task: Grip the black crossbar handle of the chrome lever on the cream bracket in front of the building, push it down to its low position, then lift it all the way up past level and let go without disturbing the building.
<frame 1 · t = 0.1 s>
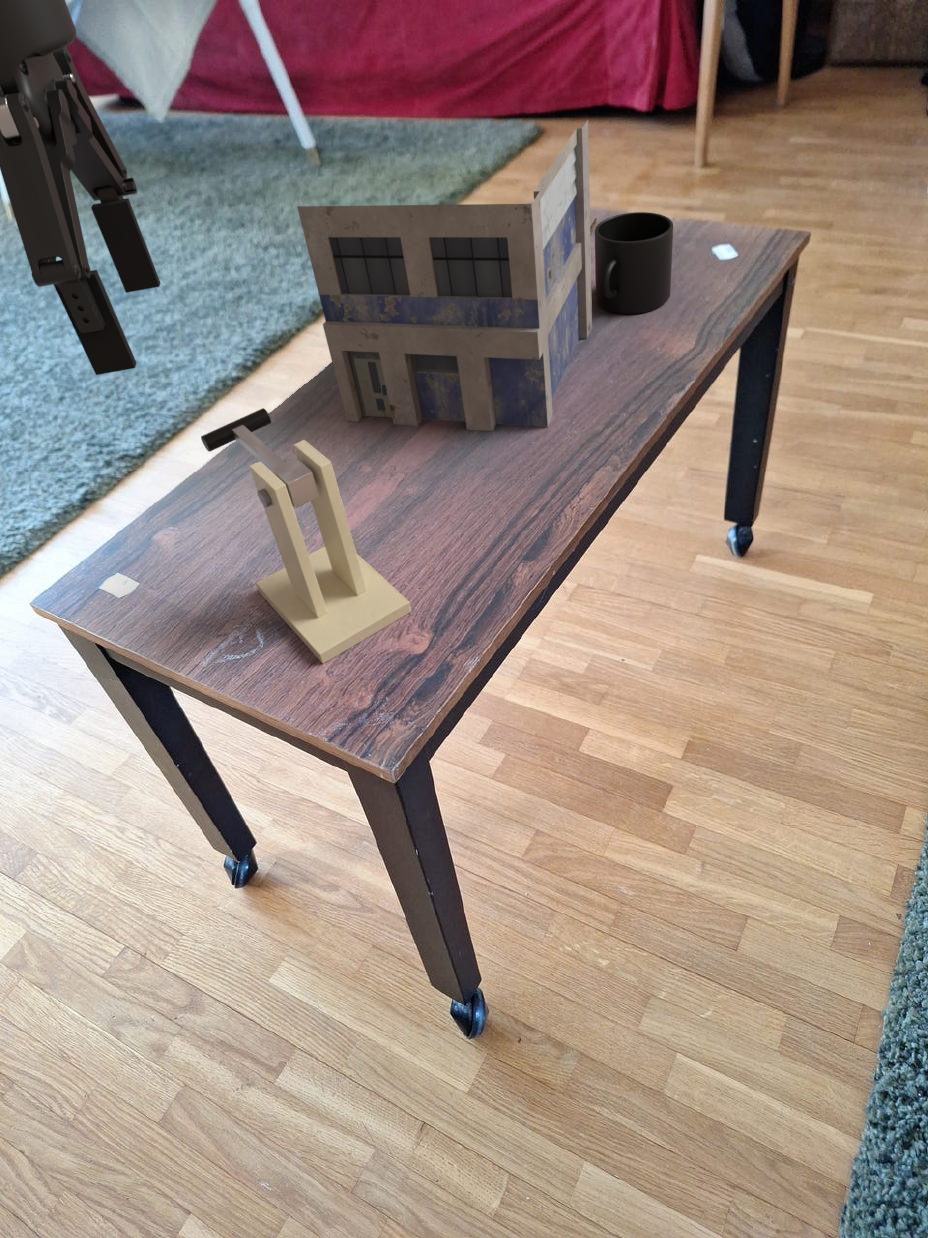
hand: (131, 325, 64), 25 cm above the table, tool pointing down, fingers open, 13 cm apart
bracket: (333, 601, 76), on the table
building: (474, 373, 102), on the table
lever: (266, 456, 70), point 13 cm above the table, hinge at 0.0°
mug: (627, 303, 110), on the table
eagle figurine: (559, 258, 123), on the table
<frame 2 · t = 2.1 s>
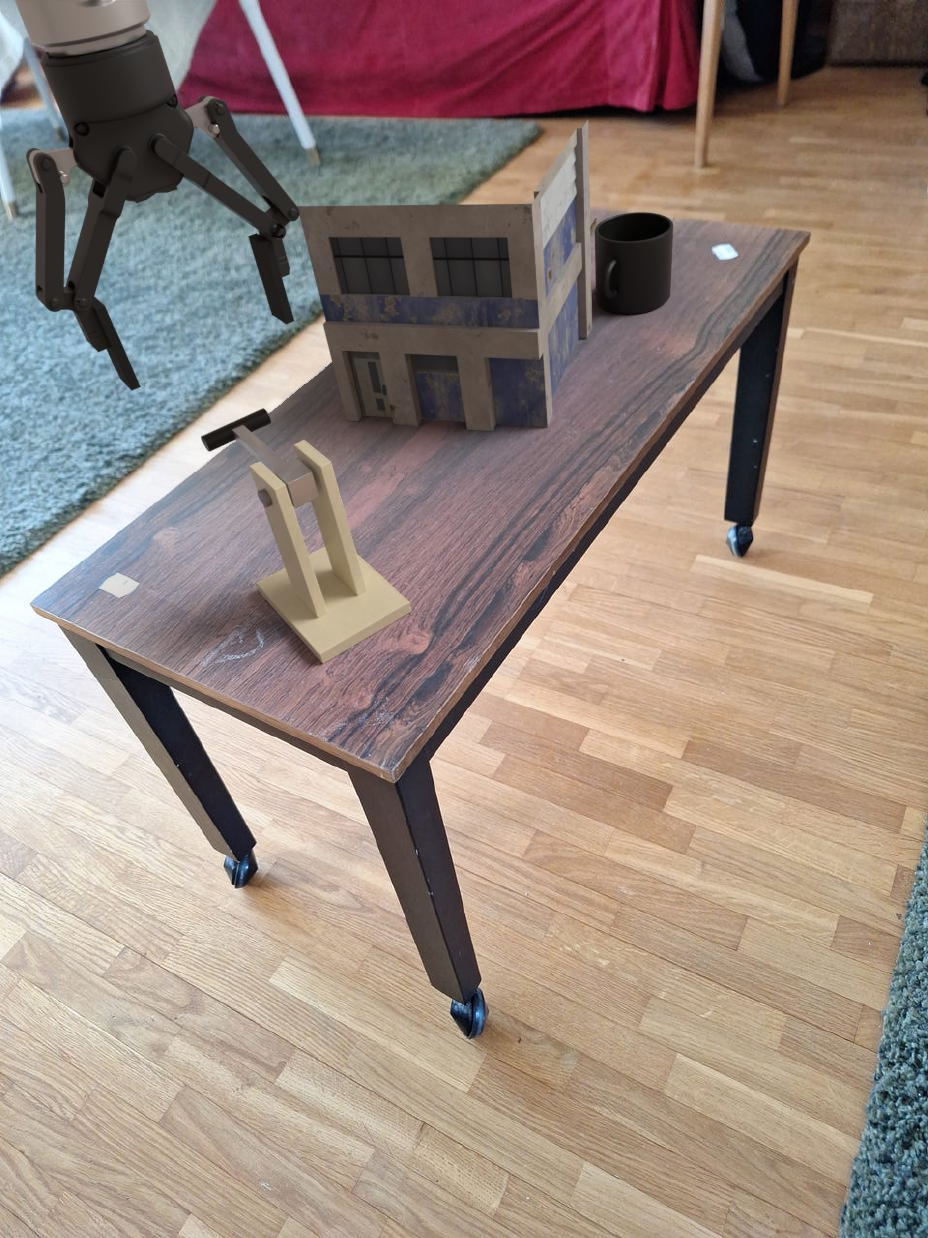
hand: (209, 349, 69), 20 cm above the table, tool pointing down, fingers open, 13 cm apart
nothing on the table moved.
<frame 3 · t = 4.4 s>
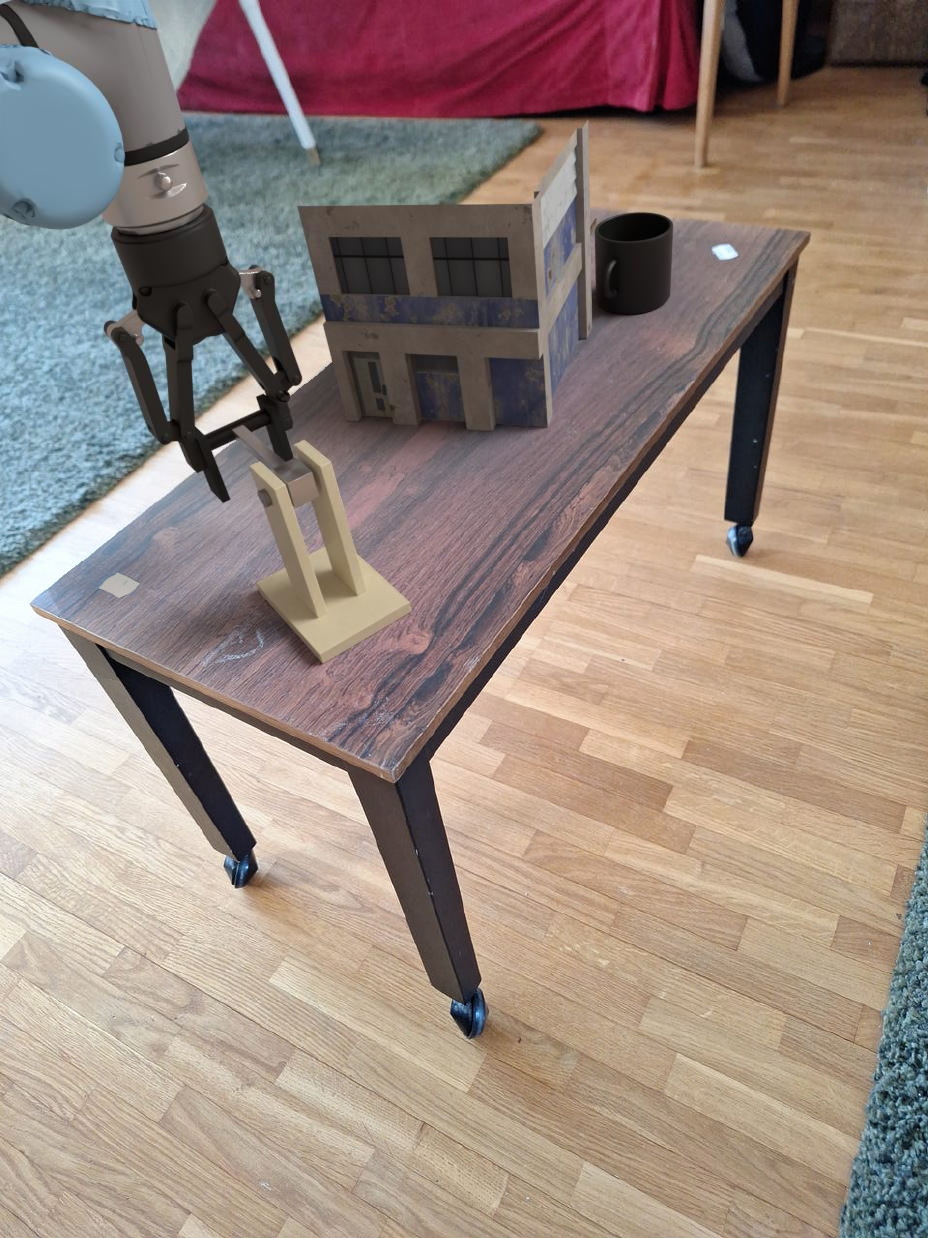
hand: (253, 478, 78), 8 cm above the table, tool pointing down, fingers closed on lever, 6 cm apart
lever: (266, 456, 70), point 13 cm above the table, hinge at 0.0°, touching gripper
everything else where it was.
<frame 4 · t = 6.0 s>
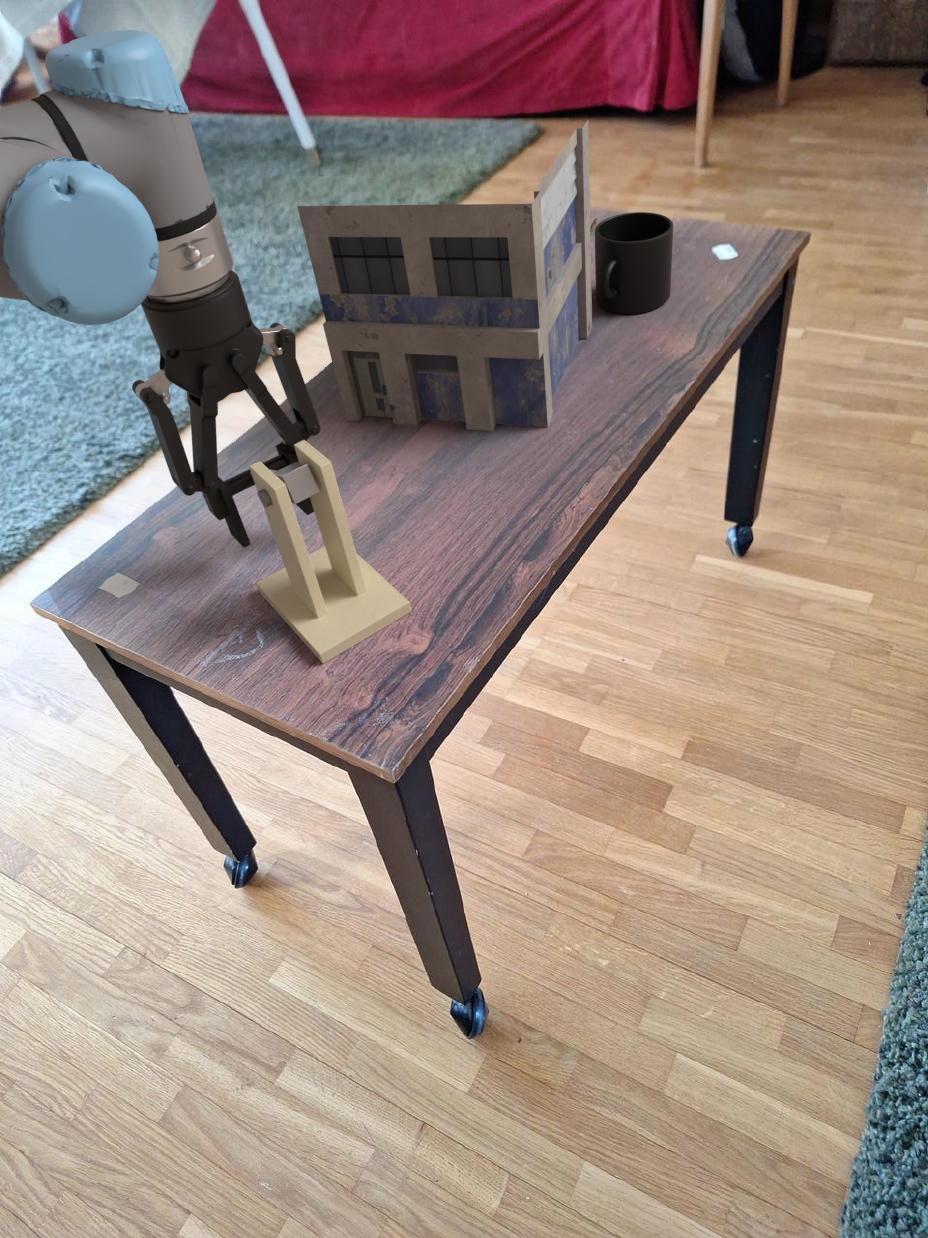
hand: (272, 522, 80), 3 cm above the table, tool pointing down, fingers closed on lever, 6 cm apart
lever: (275, 478, 72), point 11 cm above the table, hinge at -23.2°, touching gripper
everything else where it was.
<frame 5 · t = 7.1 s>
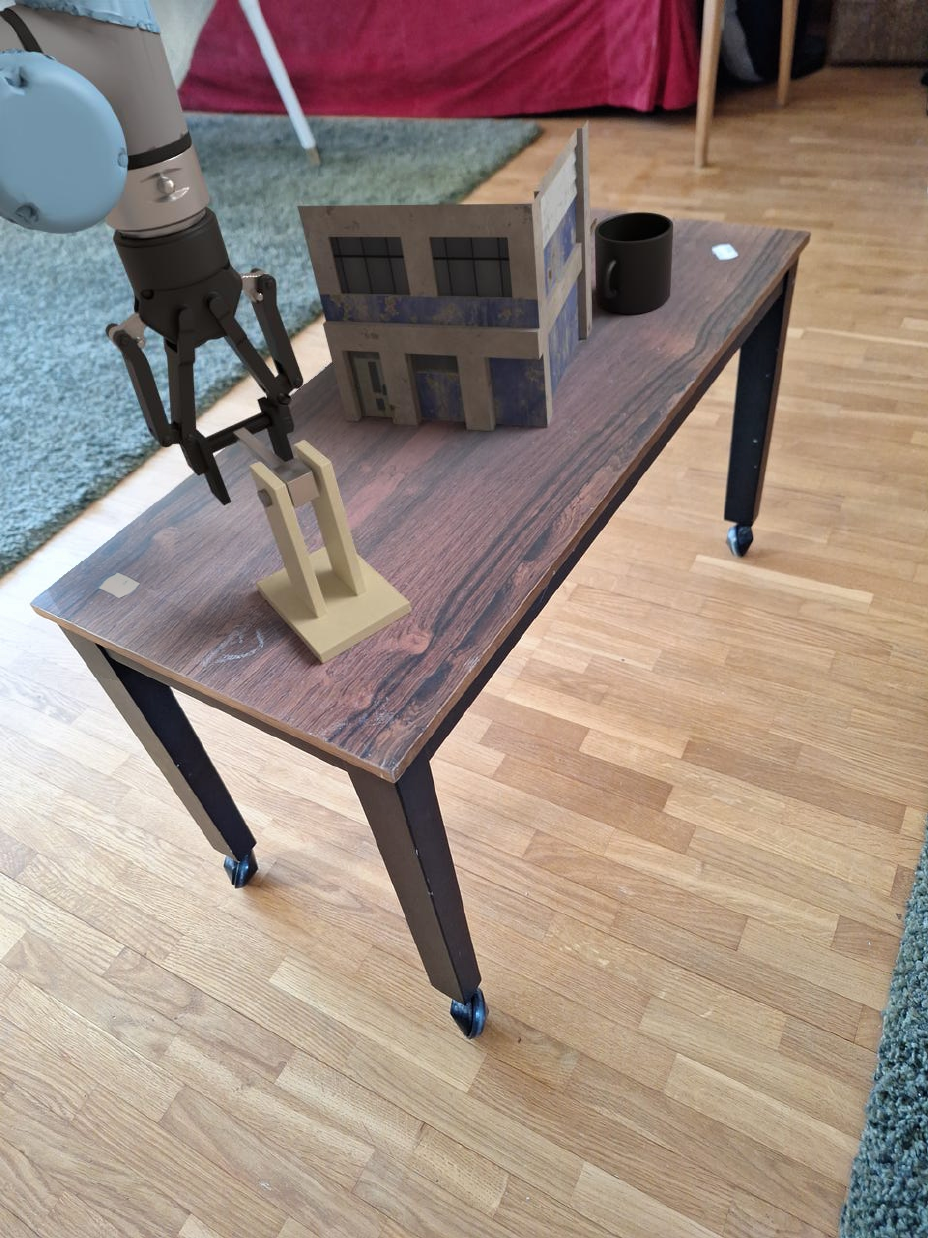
hand: (254, 480, 78), 8 cm above the table, tool pointing down, fingers closed on lever, 6 cm apart
lever: (266, 457, 70), point 13 cm above the table, hinge at -1.3°, touching gripper
everything else where it was.
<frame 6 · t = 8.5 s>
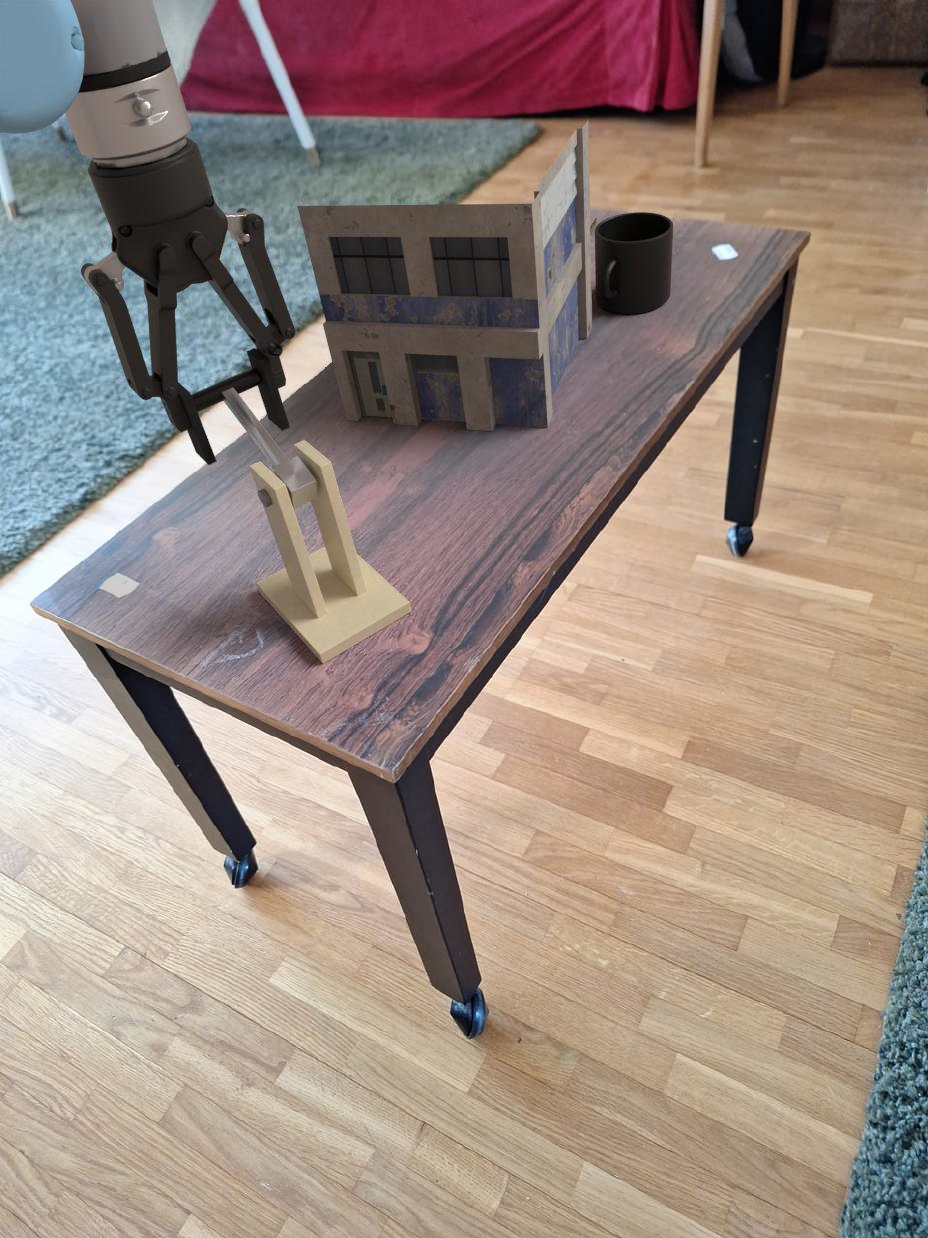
hand: (243, 439, 74), 12 cm above the table, tool pointing down, fingers open, 6 cm apart
lever: (261, 437, 69), point 15 cm above the table, hinge at 22.4°
everything else where it was.
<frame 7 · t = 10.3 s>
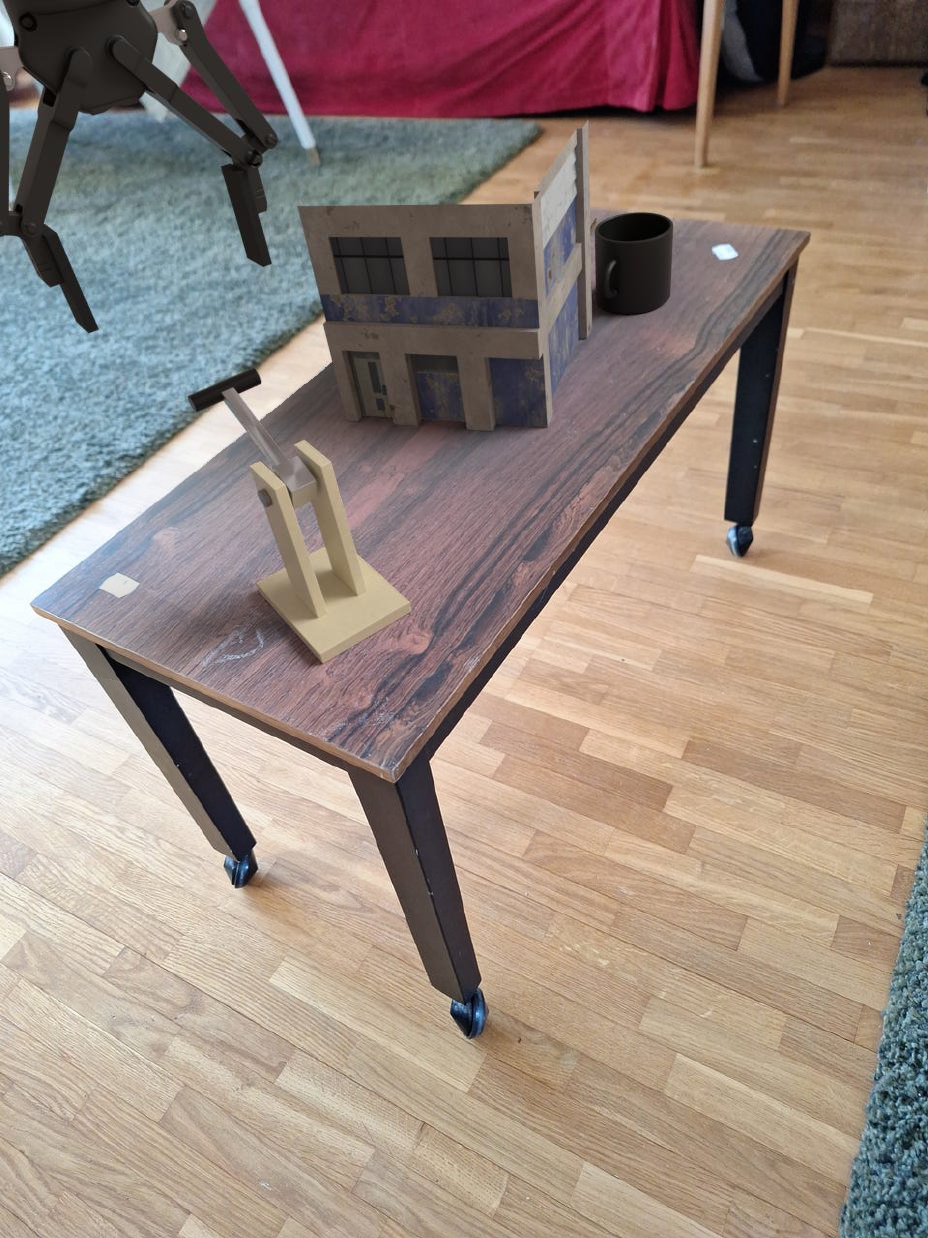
hand: (177, 292, 62), 27 cm above the table, tool pointing down, fingers open, 13 cm apart
nothing on the table moved.
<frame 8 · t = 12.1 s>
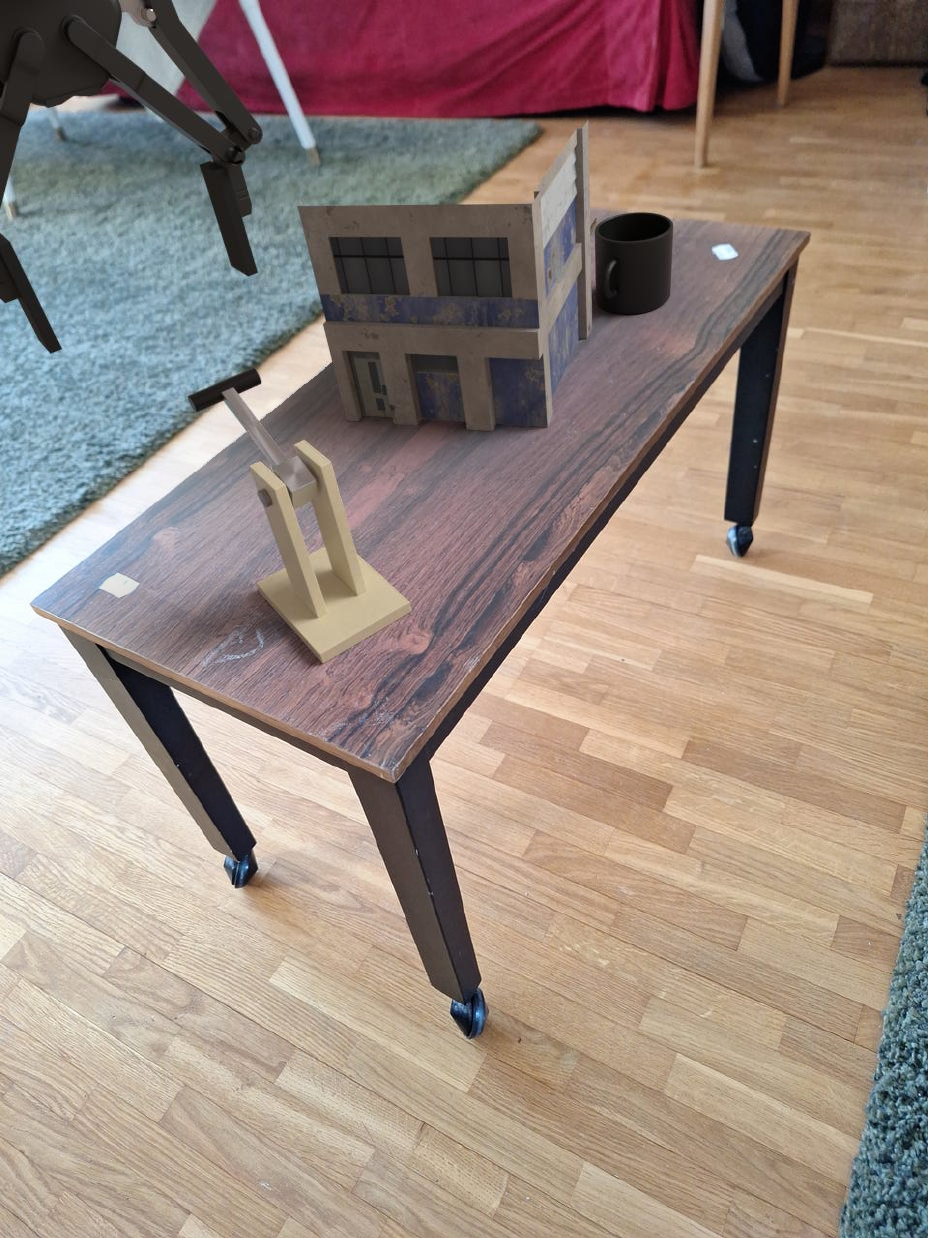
hand: (151, 306, 56), 29 cm above the table, tool pointing down, fingers open, 13 cm apart
nothing on the table moved.
at the end: lever reached -23° during the clip, +22° at the end; lever at +22° (first picture: +0°); building moved 0.2 cm from its start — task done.
